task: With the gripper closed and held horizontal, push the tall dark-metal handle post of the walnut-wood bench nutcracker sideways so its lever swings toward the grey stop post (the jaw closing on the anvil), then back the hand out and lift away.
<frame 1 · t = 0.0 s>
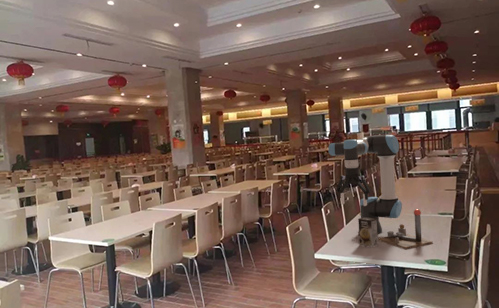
hand: (353, 204, 232), 28 cm above the table, tool pointing down, fingers open, 13 cm apart
lever: (404, 223, 251), point 11 cm above the table, hinge at 0.0°
cracker base: (406, 242, 249), on the table
coffee box: (368, 245, 249), on the table
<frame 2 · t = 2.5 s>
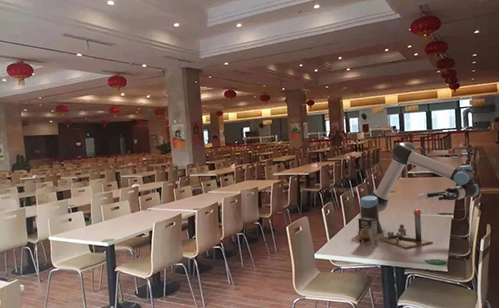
hand: (425, 198, 246), 26 cm above the table, tool horizontal, fingers open, 13 cm apart
nothing on the table moved.
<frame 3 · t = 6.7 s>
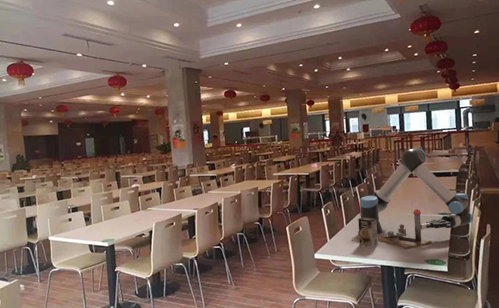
hand: (421, 227, 244), 10 cm above the table, tool horizontal, fingers closed
lever: (404, 223, 251), point 11 cm above the table, hinge at 1.6°, touching gripper
everything else where it was.
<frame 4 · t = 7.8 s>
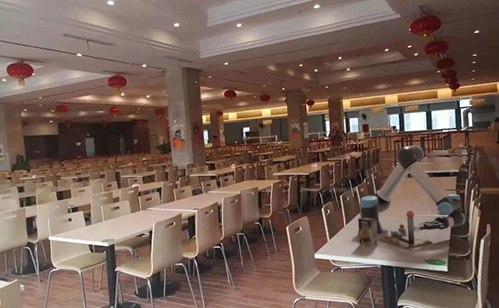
hand: (414, 228, 241), 10 cm above the table, tool horizontal, fingers closed
lever: (402, 223, 250), point 11 cm above the table, hinge at 29.2°, touching gripper
everything else where it was.
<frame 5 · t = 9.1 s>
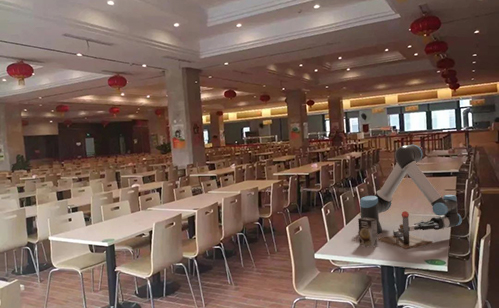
hand: (409, 228, 242), 10 cm above the table, tool horizontal, fingers closed
lever: (400, 224, 250), point 11 cm above the table, hinge at 43.4°, touching gripper
everything else where it was.
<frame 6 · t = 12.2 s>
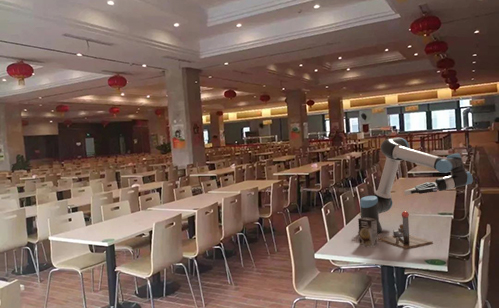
hand: (404, 193, 248), 30 cm above the table, tool horizontal, fingers closed
lever: (400, 224, 250), point 11 cm above the table, hinge at 43.4°
everything else where it was.
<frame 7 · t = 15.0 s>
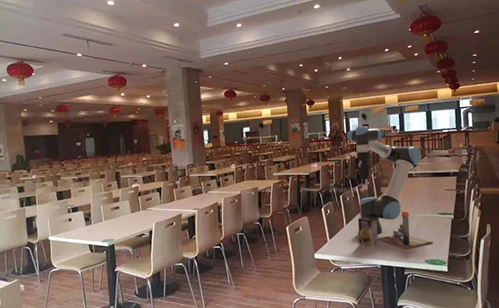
hand: (365, 189, 256), 32 cm above the table, tool pointing down, fingers closed
nothing on the table moved.
at the end: lever at +43° (first picture: +0°) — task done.
